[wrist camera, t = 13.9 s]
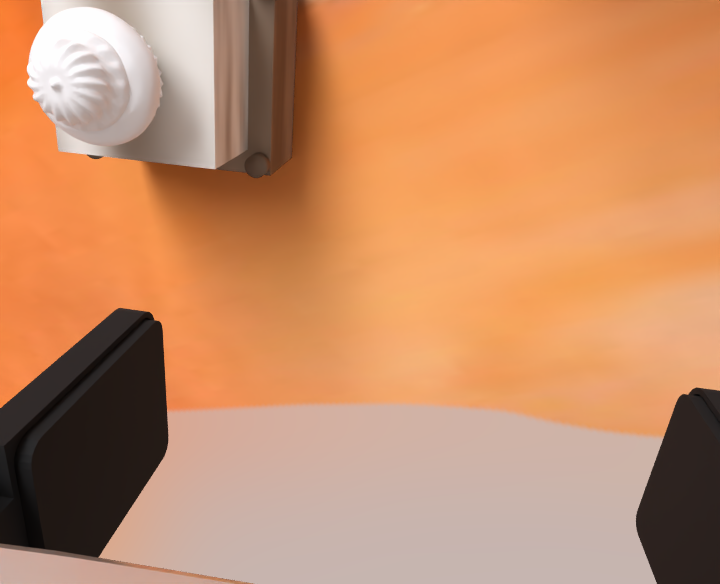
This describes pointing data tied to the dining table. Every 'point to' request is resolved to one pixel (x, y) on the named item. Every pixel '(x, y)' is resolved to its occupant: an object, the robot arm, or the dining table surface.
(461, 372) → the dining table surface
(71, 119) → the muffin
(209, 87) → the knobbed square box
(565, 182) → the dining table surface
